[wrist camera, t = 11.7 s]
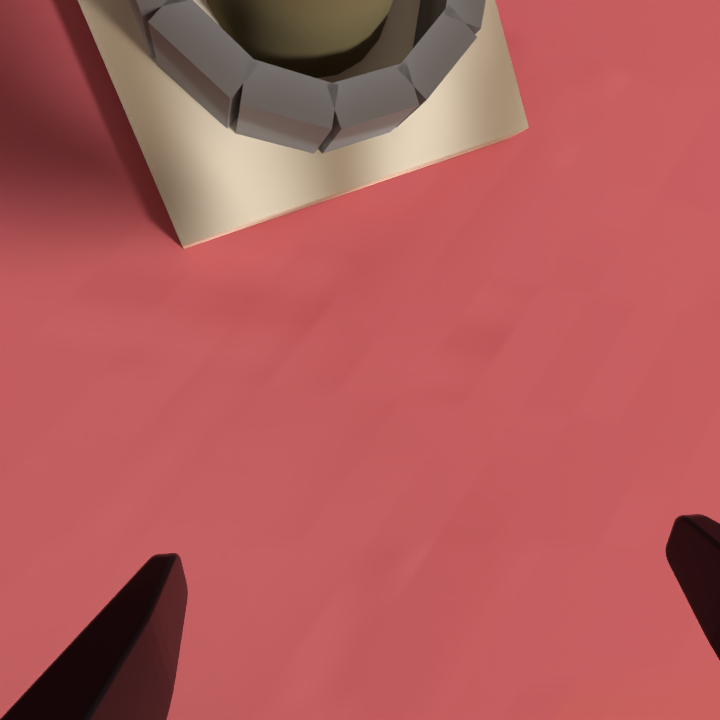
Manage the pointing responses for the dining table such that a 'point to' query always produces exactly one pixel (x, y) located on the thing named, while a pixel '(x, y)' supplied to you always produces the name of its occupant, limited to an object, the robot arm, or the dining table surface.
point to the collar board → (292, 180)
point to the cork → (304, 31)
